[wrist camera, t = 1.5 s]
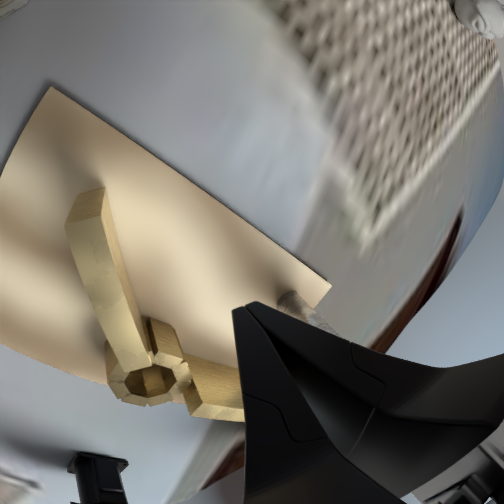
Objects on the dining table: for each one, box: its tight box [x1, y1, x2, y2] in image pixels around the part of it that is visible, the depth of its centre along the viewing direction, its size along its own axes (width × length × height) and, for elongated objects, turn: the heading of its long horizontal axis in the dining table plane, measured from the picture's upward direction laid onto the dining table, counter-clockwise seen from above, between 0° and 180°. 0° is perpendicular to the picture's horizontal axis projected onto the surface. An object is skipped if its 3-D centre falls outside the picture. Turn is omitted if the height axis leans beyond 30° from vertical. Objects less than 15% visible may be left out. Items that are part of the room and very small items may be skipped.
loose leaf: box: [64, 186, 152, 373], centre depth 13 cm, size 2×8×4 cm, turn 2°
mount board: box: [0, 87, 332, 404], centre depth 18 cm, size 16×24×1 cm, turn 47°
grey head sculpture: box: [455, 0, 504, 39], centre depth 14 cm, size 6×7×7 cm
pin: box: [277, 291, 340, 337], centre depth 19 cm, size 3×3×8 cm
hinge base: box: [104, 316, 245, 422], centre depth 19 cm, size 5×13×5 cm, turn 47°
